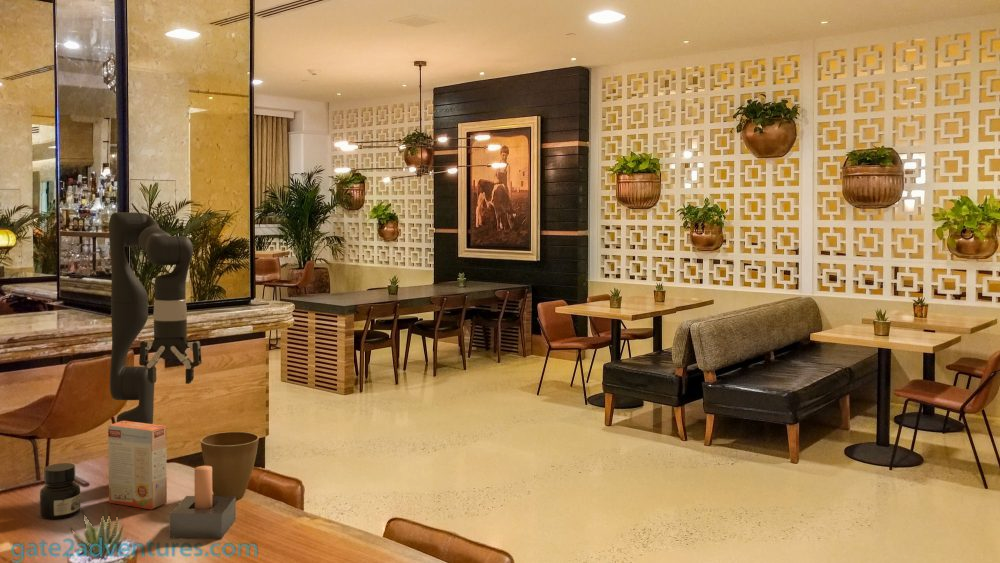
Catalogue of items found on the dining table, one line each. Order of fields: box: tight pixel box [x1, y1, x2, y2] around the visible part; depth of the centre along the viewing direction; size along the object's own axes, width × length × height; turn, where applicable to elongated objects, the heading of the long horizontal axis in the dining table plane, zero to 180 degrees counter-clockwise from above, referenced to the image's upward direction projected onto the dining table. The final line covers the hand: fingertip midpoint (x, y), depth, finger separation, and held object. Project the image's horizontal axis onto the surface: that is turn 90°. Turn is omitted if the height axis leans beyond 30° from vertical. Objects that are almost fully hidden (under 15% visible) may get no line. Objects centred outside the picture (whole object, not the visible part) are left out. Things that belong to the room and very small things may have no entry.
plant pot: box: [199, 431, 260, 500], centre depth 223 cm, size 15×15×16 cm
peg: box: [194, 465, 213, 509], centre depth 200 cm, size 4×4×14 cm
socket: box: [169, 495, 237, 540], centre depth 200 cm, size 12×12×6 cm
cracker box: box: [107, 421, 168, 510], centre depth 215 cm, size 14×6×21 cm, turn 71°
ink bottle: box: [39, 462, 81, 520], centre depth 207 cm, size 10×9×12 cm
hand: (170, 383), depth 204 cm, fingers open, 8 cm apart
